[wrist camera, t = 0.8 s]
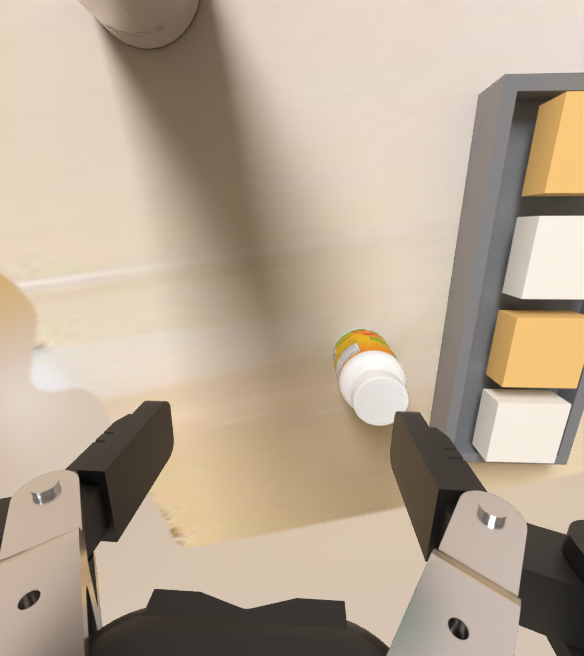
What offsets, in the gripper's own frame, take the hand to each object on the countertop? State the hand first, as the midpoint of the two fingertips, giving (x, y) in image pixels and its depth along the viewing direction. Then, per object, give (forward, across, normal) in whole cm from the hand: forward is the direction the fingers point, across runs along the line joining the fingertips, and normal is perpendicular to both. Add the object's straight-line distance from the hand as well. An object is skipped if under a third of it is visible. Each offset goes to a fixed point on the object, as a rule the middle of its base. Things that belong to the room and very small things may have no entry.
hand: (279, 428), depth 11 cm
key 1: (+17, -20, -13) cm, 29 cm away
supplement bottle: (+21, -6, +5) cm, 22 cm away
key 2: (+17, -20, -5) cm, 27 cm away
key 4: (+18, -20, +10) cm, 29 cm away
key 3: (+18, -20, +2) cm, 27 cm away
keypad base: (+20, -20, -2) cm, 29 cm away
